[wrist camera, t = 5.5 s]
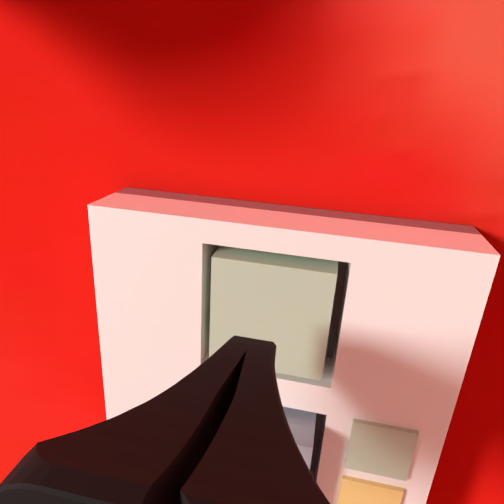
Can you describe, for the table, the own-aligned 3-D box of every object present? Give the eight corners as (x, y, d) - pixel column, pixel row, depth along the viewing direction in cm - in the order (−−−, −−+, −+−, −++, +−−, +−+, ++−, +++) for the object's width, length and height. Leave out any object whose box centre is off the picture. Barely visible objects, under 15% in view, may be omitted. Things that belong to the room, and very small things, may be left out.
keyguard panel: (144, 511, 26) (117, 565, 23) (126, 187, 18) (84, 206, 15) (381, 571, 23) (386, 640, 20) (473, 226, 16) (502, 257, 13)
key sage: (222, 333, 18) (208, 360, 16) (226, 238, 17) (211, 257, 15) (324, 350, 18) (321, 380, 16) (338, 253, 16) (337, 274, 14)
